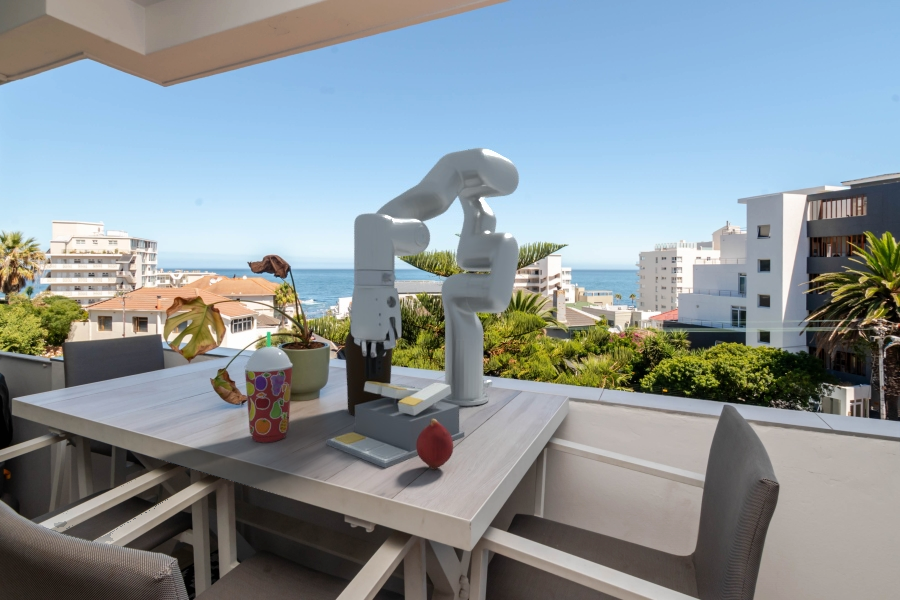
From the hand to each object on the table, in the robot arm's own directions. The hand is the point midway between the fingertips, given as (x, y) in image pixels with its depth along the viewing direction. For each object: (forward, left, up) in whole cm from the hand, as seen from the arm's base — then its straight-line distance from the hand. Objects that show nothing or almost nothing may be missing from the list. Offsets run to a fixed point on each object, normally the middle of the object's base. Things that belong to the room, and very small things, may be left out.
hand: (374, 376), depth 87 cm
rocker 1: (-4, 0, -4) cm, 6 cm away
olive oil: (-10, -14, -12) cm, 21 cm away
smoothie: (+14, -14, -12) cm, 23 cm away
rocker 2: (-4, +5, -4) cm, 8 cm away
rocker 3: (-4, +10, -4) cm, 12 cm away
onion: (+4, +19, -12) cm, 23 cm away
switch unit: (-1, +5, -11) cm, 13 cm away
